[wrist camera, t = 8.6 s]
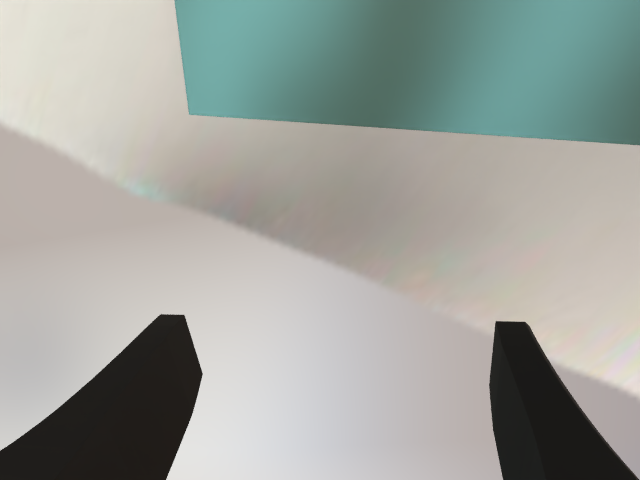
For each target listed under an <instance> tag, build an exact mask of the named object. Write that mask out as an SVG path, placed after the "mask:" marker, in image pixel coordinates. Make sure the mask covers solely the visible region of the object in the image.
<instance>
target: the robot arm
mask: <svg viewBox="0 0 640 480" xmlns="http://www.w3.org/2000/svg"><path fill="white" fill-rule="evenodd" d="M201 378H202V370H201V367H200V364H199V361H198V358H197V354H196V351H195V348H194V345H193V341H192V338H191V335H190V332H189V329H188V326H187V322H186V319H185V316H184V315H162V314H161V315H160V316H158V317H157V318H156V319H155V320H154V321H153V322H152V323H151V324H150V325H149V326H148V327H147V328H146V329H144V330H143V332H141V333H140V334H139V335H138V337H136V338H135V339H134V340H133V341H132V342H131V343H130V344H129V345H128V346H127V347H126V348H125V349H124V350H123V351H122V352H121V353H120V354H119V355H118V356H116V358H114V359H113V360H112V361H111V362H110V363H109V364H108V365H107V366H106V367H105V368H104V369H103V370H102V371H101V372H99V373H98V374H97V375H96V376H95V377H94V378H93V379H92V380H91V381H89V382H88V383H87V384H86V385H85V386H84V387H82V388H81V389H80V390H79V391H78V392H77V393H76V394H75V395H73V396H72V397H71V398H70V399H69V400H67V401H66V402H65V403H64V404H63V405H62V406H60V407H59V408H58V409H57V410H55V411H54V412H53V413H52V414H50V415H49V416H48V417H47V418H45V419H44V420H43V421H42V422H40V423H39V424H38V425H36V426H35V427H33V428H32V429H31V430H30V431H28V432H27V433H25V434H24V435H23V436H21V437H20V438H19V439H17V440H16V441H14V442H13V443H11V444H10V445H8V446H7V447H5V448H4V449H2V450H1V451H0V480H166V478H167V476H168V473H169V471H170V468H171V466H172V464H173V461H174V459H175V456H176V453H177V451H178V449H179V446H180V444H181V441H182V439H183V436H184V434H185V431H186V428H187V426H188V424H189V421H190V418H191V416H192V413H193V409H194V406H195V402H196V398H197V395H198V391H199V387H200V382H201ZM489 386H490V400H491V411H492V421H493V431H494V436H495V441H496V446H497V451H498V456H499V461H500V466H501V471H502V476H503V480H639V479H638V478H637V477H636V476H635V474H634V473H633V472H632V471H631V470H630V469H629V468H628V467H627V466H626V464H625V463H624V462H623V461H622V460H621V459H620V457H619V456H618V455H617V454H616V453H615V452H614V450H613V449H612V448H611V447H610V446H609V444H608V443H607V442H606V441H605V440H604V438H603V437H602V436H601V435H600V433H599V432H598V430H597V429H596V428H595V427H594V425H593V424H592V423H591V421H590V420H589V419H588V418H587V416H586V415H585V413H584V412H583V411H582V409H581V408H580V407H579V405H578V404H577V402H576V401H575V400H574V398H573V397H572V395H571V394H570V392H569V391H568V389H567V388H566V387H565V385H564V384H563V382H562V381H561V379H560V378H559V376H558V375H557V373H556V371H555V370H554V368H553V367H552V365H551V363H550V362H549V360H548V359H547V357H546V355H545V354H544V352H543V350H542V349H541V347H540V345H539V343H538V341H537V340H536V338H535V336H534V334H533V332H532V330H531V328H530V326H529V325H528V324H527V323H526V322H503V321H496V323H495V333H494V343H493V353H492V363H491V373H490V384H489Z"/></svg>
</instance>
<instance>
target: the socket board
mask: <svg viewBox="0 0 640 480" xmlns="http://www.w3.org/2000/svg"><path fill="white" fill-rule="evenodd" d="M175 8H176V15H177V23H178V31H179V39H180V47H181V54H182V62H183V70H184V78H185V86H186V93H187V101H188V109H189V115H202V116H217V117H232V118H246V119H261V120H276V121H291V122H305V123H320V124H335V125H350V126H364V127H379V128H394V129H409V130H423V131H438V132H453V133H468V134H482V135H497V136H512V137H527V138H541V139H556V140H571V141H586V142H600V143H615V144H630V145H640V0H175Z"/></svg>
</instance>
